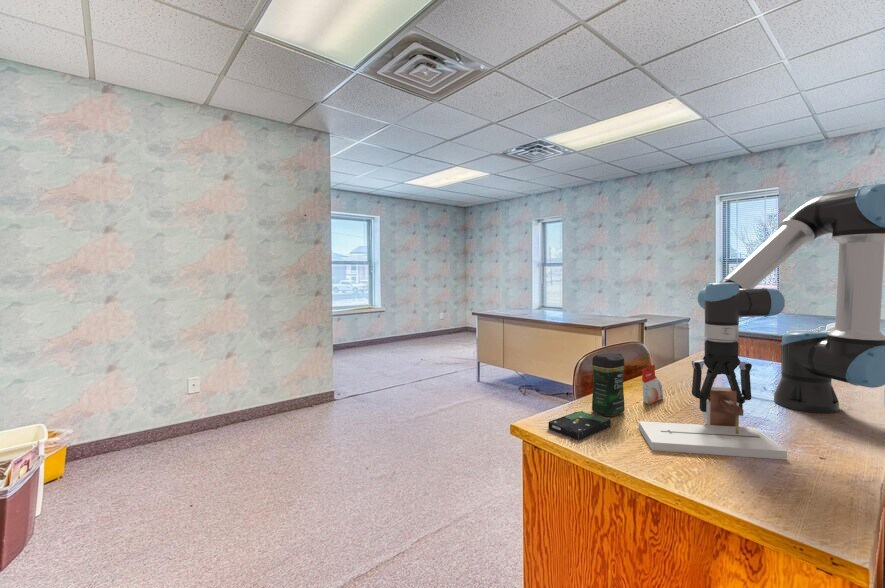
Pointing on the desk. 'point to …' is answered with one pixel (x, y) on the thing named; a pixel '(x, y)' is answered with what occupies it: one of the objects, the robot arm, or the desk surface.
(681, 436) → the grey board
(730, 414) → the marking gauge
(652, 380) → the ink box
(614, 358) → the coffee jar
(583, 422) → the disk drive
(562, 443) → the desk surface
